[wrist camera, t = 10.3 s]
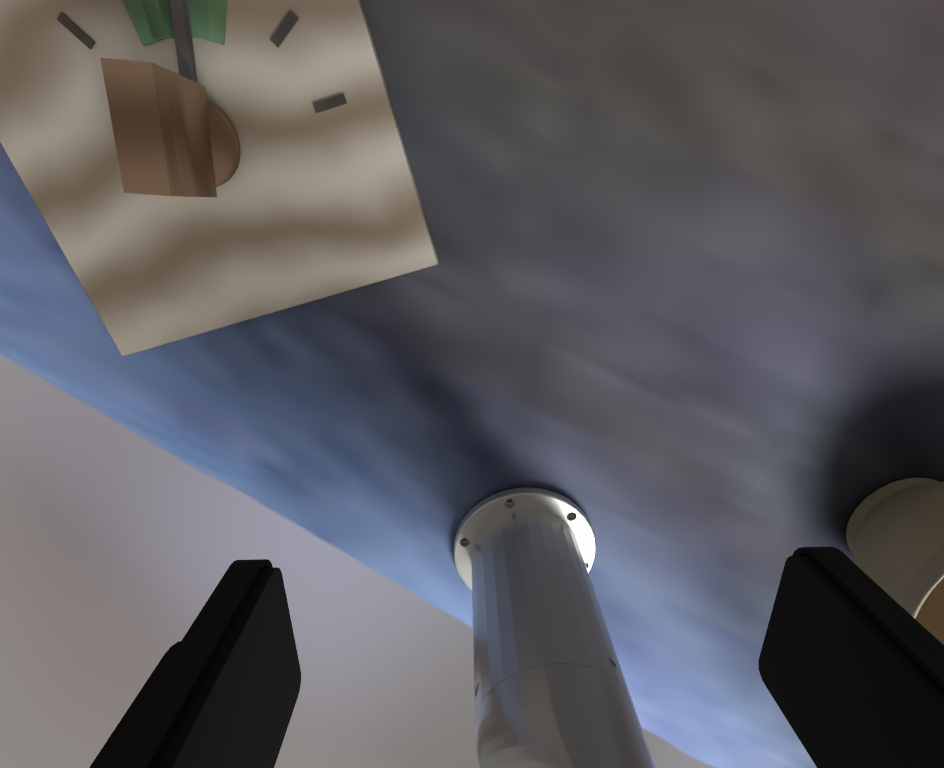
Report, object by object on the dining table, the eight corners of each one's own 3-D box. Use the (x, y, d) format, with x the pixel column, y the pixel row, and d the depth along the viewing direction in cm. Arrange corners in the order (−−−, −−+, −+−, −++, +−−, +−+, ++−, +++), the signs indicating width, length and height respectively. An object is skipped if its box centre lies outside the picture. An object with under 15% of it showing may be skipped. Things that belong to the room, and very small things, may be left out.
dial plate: (438, 261, 34) (437, 264, 33) (135, 350, 36) (120, 357, 34) (322, -128, 27) (313, -148, 25) (-54, 11, 28) (-84, -1, 27)
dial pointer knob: (245, 199, 31) (196, 197, 25) (165, 193, 30) (98, 190, 25) (223, -37, 26) (158, -103, 21) (130, -46, 26) (39, -114, 21)
